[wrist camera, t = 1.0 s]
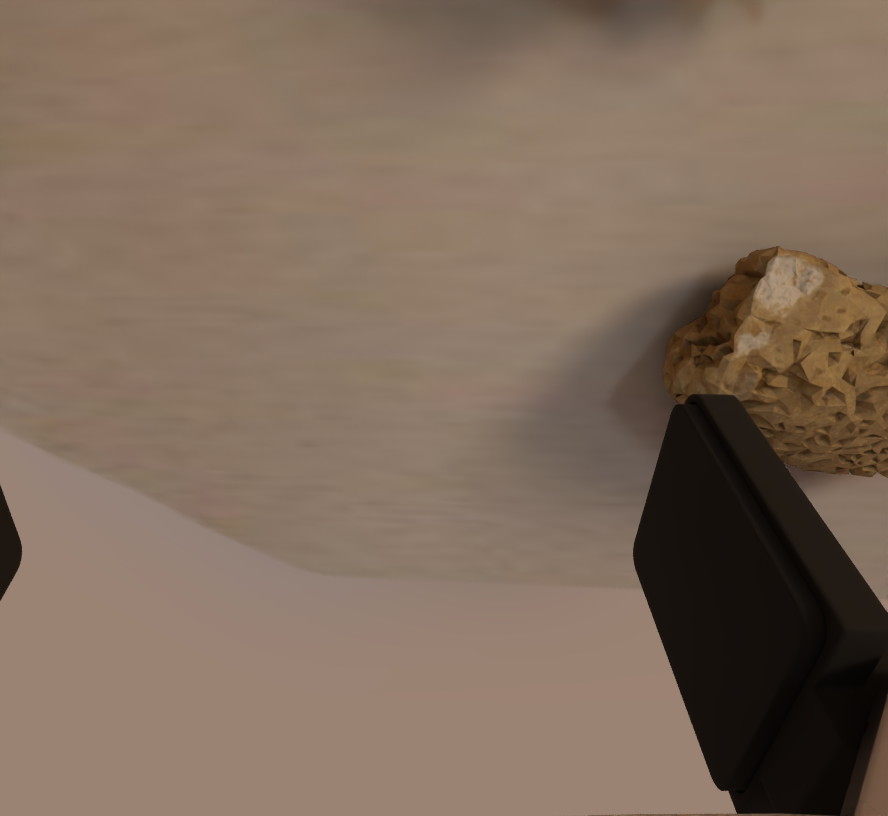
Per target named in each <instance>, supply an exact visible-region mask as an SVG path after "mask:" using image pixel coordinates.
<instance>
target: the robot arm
mask: <svg viewBox="0 0 888 816" xmlns="http://www.w3.org/2000/svg"><path fill="white" fill-rule="evenodd" d="M21 557H22V546H21V541H20V538H19V535H18V532H17V530H16V527H15V524H14V522H13V519H12V517H11V513H10V511H9V508H8V505H7V503H6V500H5V497H4V494H3V491H2V489H1V486H0V600H1V599H2V597H3V595H4V593H5V591H6V590H7V588H8V586H9V584H10V582H11V581H12V579H13V577H14V576H15V574H16V572H17V570H18V568H19V566H20V561H21ZM633 559H634V565H635V569H636V572H637V575H638V577H639V580H640V583H641V586H642V588H643V591H644V594H645V597H646V599H647V602H648V605H649V608H650V610H651V613H652V616H653V618H654V621H655V624H656V627H657V629H658V632H659V635H660V638H661V640H662V643H663V646H664V649H665V651H666V654H667V657H668V659H669V662H670V665H671V668H672V671H673V673H674V676H675V679H676V681H677V684H678V687H679V690H680V693H681V695H682V698H683V701H684V703H685V706H686V709H687V711H688V714H689V717H690V720H691V723H692V725H693V728H694V731H695V734H696V736H697V739H698V742H699V744H700V747H701V750H702V753H703V755H704V758H705V761H706V764H707V766H708V769H709V772H710V775H711V777H712V779H713V781H714V783H715V785H716V786H717V788H718V789H720V790H721V791H729V793H730V796H731V799H732V802H733V804H734V807H735V810H736V812H737V814H632V815H591V816H888V613H887V611H886V610H885V608H884V607H883V606H882V604H881V603H880V601H879V600H878V598H877V597H876V595H875V594H874V593H873V591H872V590H871V588H870V587H869V585H868V584H867V583H866V581H865V580H864V578H863V577H862V575H861V574H860V573H859V571H858V570H857V568H856V567H855V565H854V564H853V563H852V561H851V560H850V558H849V557H848V555H847V554H846V553H845V551H844V550H843V548H842V547H841V545H840V544H839V543H838V541H837V540H836V538H835V537H834V535H833V534H832V532H831V531H830V530H829V528H828V527H827V525H826V524H825V522H824V521H823V520H822V518H821V517H820V515H819V514H818V512H817V511H816V510H815V508H814V507H813V505H812V504H811V502H810V501H809V500H808V498H807V497H806V495H805V494H804V492H803V491H802V490H801V488H800V487H799V485H798V484H797V482H796V481H795V480H794V478H793V477H792V475H791V474H790V472H789V471H788V470H787V468H786V467H785V465H784V464H783V462H782V461H781V460H780V458H779V457H778V455H777V454H776V452H775V451H774V450H773V448H772V447H771V445H770V444H769V442H768V441H767V440H766V438H765V437H764V435H763V434H762V432H761V431H760V429H759V428H758V427H757V425H756V424H755V422H754V421H753V419H752V418H751V417H750V415H749V414H748V412H747V411H746V409H745V408H744V407H743V405H742V404H741V402H740V401H739V400H738V399H737V398H736V397H735V396H734V395H728V394H692V395H690V396H688V398H687V399H686V400H685V403H684V404H677V405H675V406H674V408H673V409H672V412H671V415H670V418H669V422H668V425H667V429H666V432H665V436H664V440H663V443H662V447H661V450H660V454H659V457H658V461H657V464H656V468H655V471H654V475H653V478H652V482H651V485H650V489H649V492H648V496H647V499H646V503H645V506H644V510H643V514H642V517H641V521H640V524H639V528H638V531H637V535H636V538H635V542H634V548H633ZM589 816H590V815H589Z"/></svg>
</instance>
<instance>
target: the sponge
mask: <svg viewBox="0 0 888 816" xmlns="http://www.w3.org/2000/svg"><path fill="white" fill-rule="evenodd" d="M666 358H667V361H666V362H665V364H664V372H663V379H664V384H665V388H666V389H667V391H668V392H669V393H670V394H671V395H672V397H673V398H674V399H675V400H676V401H677V402H678V403H679V404H684V403H685V400H686V399H687V398H688V396H690V395H692V394H728V395H734V396H735V397H736V398H737V399H738V400H739V401H740V402H741V404H742V405H743V407H744V408H745V409H746V411H747V412H748V414H749V415H750V417H751V418H752V419H753V421H754V422H755V424H756V425H757V427H758V428H759V429H760V431H761V432H762V434H763V435H764V437H765V438H766V440H767V441H768V442H769V444H770V445H771V447H772V448H773V450H774V451H775V452H776V454H777V455H778V457H779V458H780V460H781V461H783V462H785V463H787V464H790V465H792V466H795V467H798V468H801V470H802V471H820V472H826V473H831V474H849V471H850V473H851V474H852V475H858V476H866V477H872V476H873V475H874V474H876V473H877V472H879V473H880V474H882V475H883V476H885V477H887V478H888V288H887V287H883V286H880V285H870V284H867V283H864V282H863V285H861V284H859V283H857V282H856V279H853V278H849V277H848V276H847V275H846V274H844V273H843V272H842V271H840V270H839V269H838V267H836V266H834V265H832V264H830V263H828V262H826V261H824V260H822V259H820V258H816V257H815V256H812V255H810V254H807V253H804V252H798V251H792V250H784V249H782V248H781V247H779V246H776V247H773V248H769V249H764V250H756V251H754V252H752V253H750V254H749V256H748V257H745V258H741V259H740V260H739V261H738V262H737V264H736V265H735V274H734V275H733V276H731V277H730V278H729V279H728V281H727V282H726V284H725V285H724V286H723V287H722V289H720V290H715V291H713V296H712V301H711V303H710V305H709V307H708V309H707V311H706V314H704V315H703V316H701V317H700V318H699V319H697V320H695V321H693V322H691V323H689V324H687V325H686V326H684V327H682V328H680V329H678V330H676V332H675V333H674V335H673V336H672V337H671V338H670V340H669V343H668V347H667V353H666Z"/></svg>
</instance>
